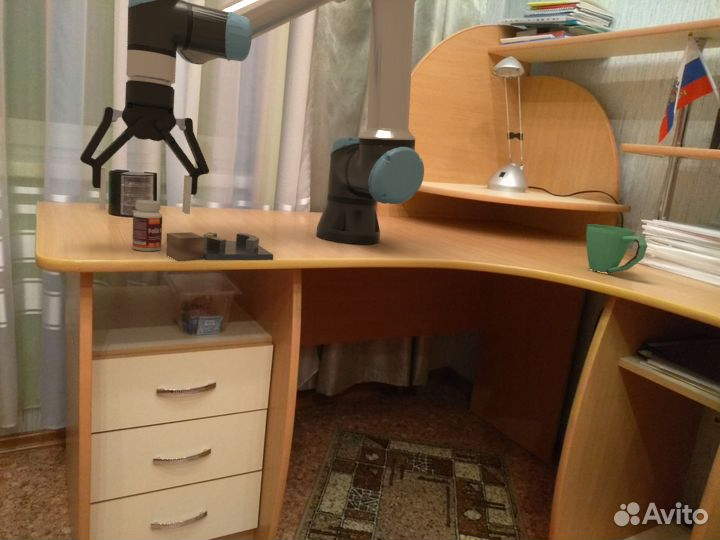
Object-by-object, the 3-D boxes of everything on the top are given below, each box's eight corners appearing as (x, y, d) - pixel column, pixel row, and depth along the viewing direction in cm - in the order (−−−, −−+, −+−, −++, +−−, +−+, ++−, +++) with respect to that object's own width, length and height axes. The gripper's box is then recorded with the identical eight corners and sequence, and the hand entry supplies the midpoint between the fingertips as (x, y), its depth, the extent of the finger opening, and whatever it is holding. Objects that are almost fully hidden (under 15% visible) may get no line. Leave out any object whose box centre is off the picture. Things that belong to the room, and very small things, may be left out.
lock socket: (251, 246, 108) (252, 229, 107) (272, 259, 98) (274, 241, 97) (189, 245, 102) (190, 228, 101) (205, 260, 92) (206, 240, 91)
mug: (568, 266, 125) (577, 223, 123) (600, 266, 129) (609, 225, 127) (620, 282, 112) (631, 235, 110) (653, 283, 116) (664, 237, 114)
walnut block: (190, 254, 95) (191, 232, 94) (203, 260, 92) (204, 237, 91) (166, 256, 92) (166, 233, 91) (178, 262, 89) (179, 238, 88)
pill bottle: (151, 253, 93) (152, 204, 91) (126, 249, 94) (127, 200, 92) (166, 248, 97) (168, 202, 96) (142, 245, 98) (143, 198, 96)
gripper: (220, 95, 99) (212, 211, 103) (63, 69, 86) (62, 203, 91) (231, 94, 92) (223, 217, 97) (65, 66, 80) (63, 209, 84)
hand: (145, 210), depth 94 cm, fingers open, 13 cm apart
